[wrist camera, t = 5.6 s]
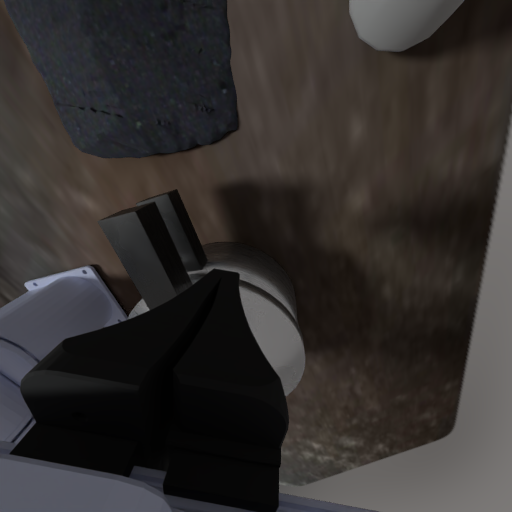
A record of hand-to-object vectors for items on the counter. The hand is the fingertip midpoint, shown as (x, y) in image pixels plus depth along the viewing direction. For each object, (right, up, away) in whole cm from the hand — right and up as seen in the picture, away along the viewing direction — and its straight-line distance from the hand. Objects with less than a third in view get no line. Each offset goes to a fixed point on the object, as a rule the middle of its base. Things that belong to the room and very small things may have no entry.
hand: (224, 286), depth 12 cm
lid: (-2, -4, +7) cm, 8 cm away
